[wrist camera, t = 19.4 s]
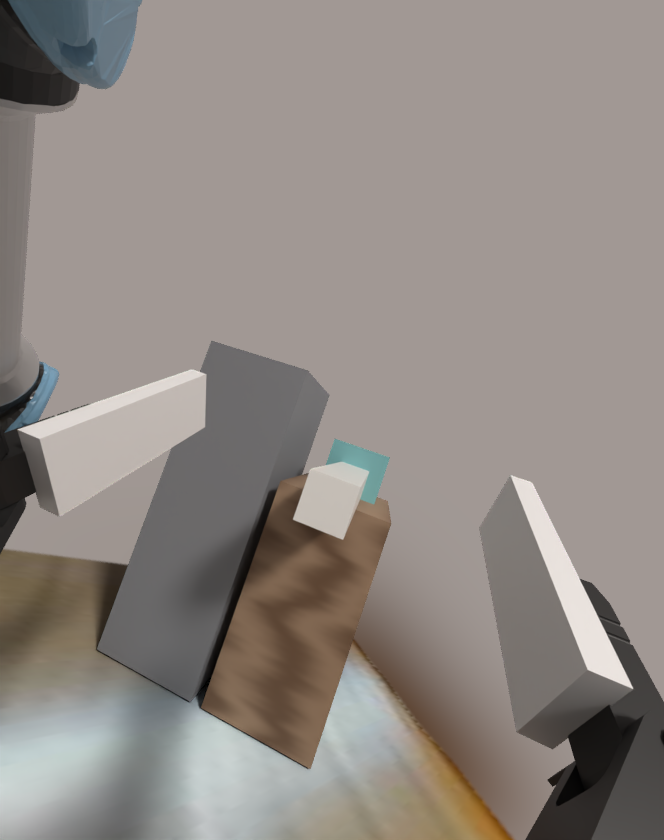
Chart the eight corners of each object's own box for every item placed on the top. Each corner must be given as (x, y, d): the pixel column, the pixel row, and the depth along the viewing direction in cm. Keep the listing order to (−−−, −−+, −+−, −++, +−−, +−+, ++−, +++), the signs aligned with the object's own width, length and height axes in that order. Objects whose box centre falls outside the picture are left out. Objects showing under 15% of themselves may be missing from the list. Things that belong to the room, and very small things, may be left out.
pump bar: (268, 509, 18) (297, 426, 18) (328, 479, 38) (341, 440, 38) (369, 550, 17) (398, 461, 17) (375, 496, 37) (388, 457, 37)
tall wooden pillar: (200, 707, 26) (280, 480, 27) (256, 628, 38) (310, 472, 39) (310, 769, 24) (391, 523, 25) (333, 665, 36) (387, 501, 37)
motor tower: (96, 649, 28) (211, 340, 29) (181, 591, 40) (259, 372, 41) (190, 702, 26) (307, 370, 28) (249, 624, 38) (329, 395, 39)
